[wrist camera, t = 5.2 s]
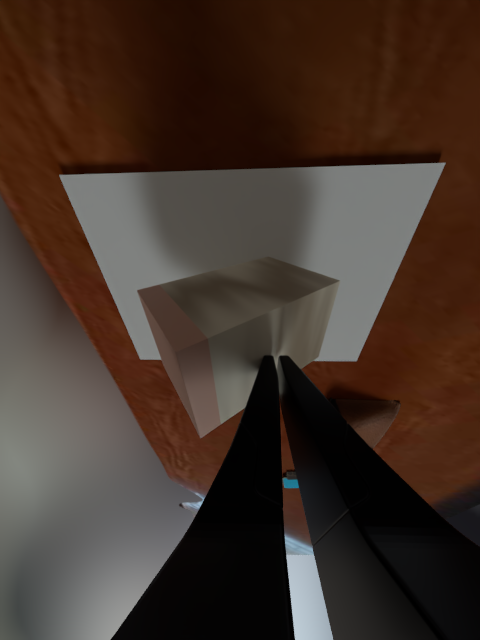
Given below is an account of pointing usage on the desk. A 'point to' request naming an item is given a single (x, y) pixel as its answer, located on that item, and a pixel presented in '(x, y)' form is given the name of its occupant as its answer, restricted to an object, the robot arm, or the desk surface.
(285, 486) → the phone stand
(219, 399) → the birch block
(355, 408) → the sunglasses case
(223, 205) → the grey mat
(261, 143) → the desk surface
